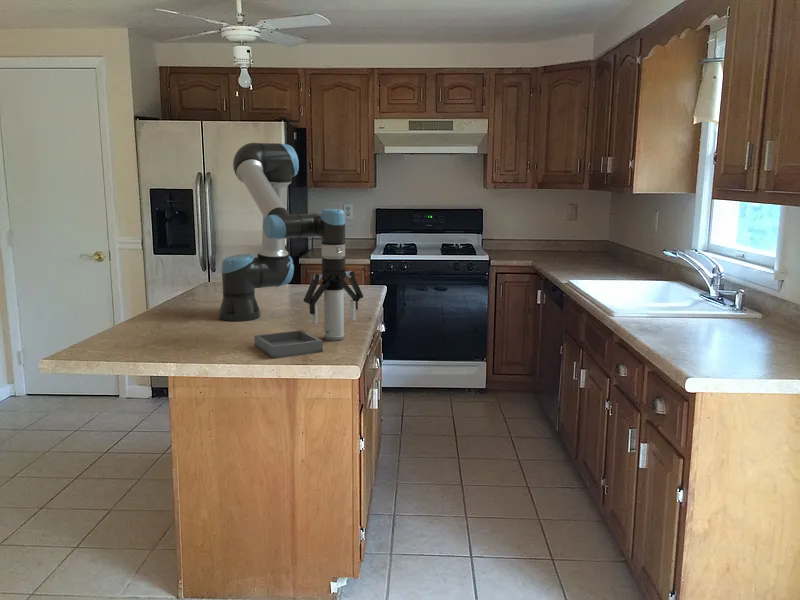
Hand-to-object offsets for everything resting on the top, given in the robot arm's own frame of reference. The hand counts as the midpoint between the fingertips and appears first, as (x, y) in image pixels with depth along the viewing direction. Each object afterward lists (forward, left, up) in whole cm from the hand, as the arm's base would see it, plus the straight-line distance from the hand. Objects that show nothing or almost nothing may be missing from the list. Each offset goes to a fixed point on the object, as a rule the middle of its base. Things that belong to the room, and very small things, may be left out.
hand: (334, 321), depth 214 cm
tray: (+5, -18, -6) cm, 20 cm away
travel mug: (0, 0, -6) cm, 6 cm away
